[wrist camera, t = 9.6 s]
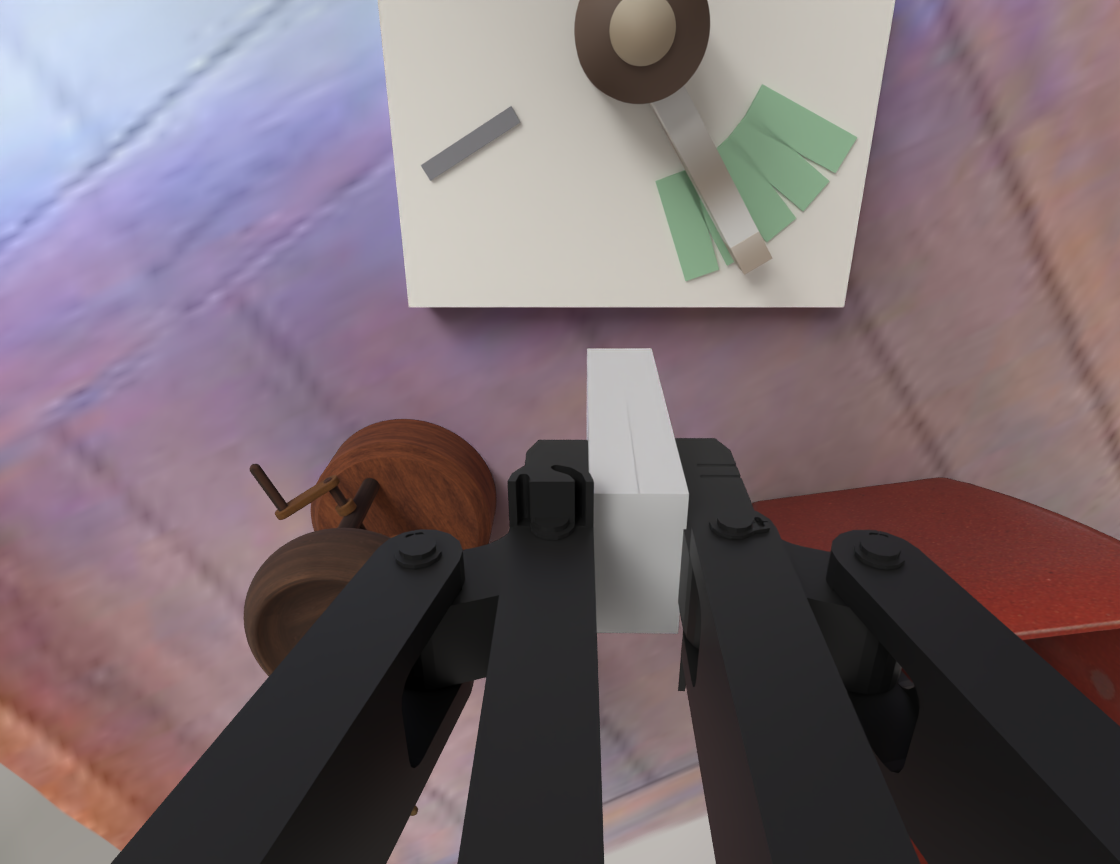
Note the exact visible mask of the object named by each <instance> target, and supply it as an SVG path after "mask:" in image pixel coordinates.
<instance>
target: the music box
mask: <svg viewBox="0 0 1120 864" xmlns="http://www.w3.org/2000/svg"><path fill="white" fill-rule="evenodd" d="M250 472H251V473H252V475H253V476H254V477H255V479H256V480H257V481H258V483H259V484H260V486H261V487H262V488H263V490H264V491H265V492H266V494H267V495H268V497H269V498H270V499H271V501H272V502H273V504H274V505H275V506H276V508H277V509H278V510H277V511H276V512H275V515H276V517H277V518H278V519H279V520H283V519H285V518H287V517H289V516H290V515H292V514H294V513H295V512H297V511H298V510H300V509H302V508H303V507H305V506H306V505H308V504H309V503H311V519H312V524H313V528H314V531H315V532H311V533H308V534H305V535H302V536H300V537H298V538H296V539H294V540H292V541H290V542H288V543H287V544H285V545H283V546H282V547H280V548H279V549H278V550H277V551H275V552H274V553H273V554H272V555H271V556H270V557H269V558H268V559H267V560H266V561H265V562H264V563H263V565H262V566H261V567H260V569H259V570H258V572H257V573H256V575H255V576H254V578H253V580H252V582H251V584H250V587H249V590H248V592H247V596H246V600H245V606H244V628H245V633H246V637H247V641H248V644H249V646H250V649H251V651H252V653H253V655H254V657H255V659H256V660H257V662H258V664H259V665H260V666H261V668H262V669H263V670H264V672H265V673H266V674H267V675H268V676H270V675H271V674H272V673H273V671H274V670H275V669H276V668H277V667H278V665H279V664H280V663H281V662H282V661H283V660H284V658H285V657H286V656H287V655H288V654H289V653H290V651H291V650H292V649H293V648H294V647H295V645H296V644H297V643H298V642H299V641H300V640H301V638H302V637H303V636H304V635H305V634H306V632H307V631H308V630H309V629H310V628H311V627H312V625H313V624H314V623H315V622H316V621H317V619H318V618H319V617H320V616H321V615H322V614H323V612H324V611H325V610H326V609H327V608H328V606H329V605H330V604H331V603H332V602H333V601H334V599H335V598H336V597H337V596H338V595H339V593H340V592H341V591H342V590H343V589H344V588H345V586H346V585H347V584H348V583H349V582H350V580H351V579H352V578H353V577H354V576H355V575H356V573H357V572H358V571H359V570H360V569H361V567H362V566H363V565H364V564H365V563H366V562H367V560H368V559H369V558H370V557H371V556H372V554H373V553H374V552H375V551H376V550H377V549H378V547H380V546H381V545H382V544H383V543H385V542H386V541H387V540H388V539H390V538H392V537H394V536H397V535H399V534H401V533H404V532H408V531H414V530H420V529H424V530H439V531H442V532H445V533H449V534H451V535H452V536H453V537H455V538H456V539H457V540H459V541H460V544H461V547H462V550H465V549H470V548H475V547H479V546H483V545H486V544H488V543H489V539H490V534H491V529H492V524H493V520H494V515H495V510H496V490H495V485H494V481H493V478H492V476H491V473H490V471H489V469H488V467H487V465H486V463H485V462H484V460H483V459H482V458H481V456H480V455H479V454H478V453H477V451H476V450H475V449H474V448H473V447H472V446H471V445H470V444H468V443H467V442H466V441H465V440H464V439H462V438H461V437H459V436H458V435H456V434H455V433H453V432H451V431H449V430H447V429H445V428H443V427H441V426H438V425H435V424H432V423H429V422H424V421H419V420H411V419H395V420H387V421H382V422H378V423H375V424H372V425H369V426H367V427H365V428H363V429H361V430H359V431H358V432H356V433H355V434H353V435H352V436H351V437H350V438H348V439H347V440H346V441H345V442H344V443H343V444H342V446H341V447H340V448H339V449H338V451H337V452H336V454H335V455H334V457H333V458H332V460H331V461H330V463H329V464H328V466H327V467H326V469H325V470H324V472H323V473H322V475H321V476H320V478H319V480H318V482H317V484H316V485H315V486H313V487H312V488H310V489H309V490H307V491H305V492H304V493H302V494H301V495H299V496H297V497H296V498H294V499H292V500H291V501H289V502H288V503H286V502H285V500H284V499H283V498H282V496H281V495H280V493H279V492H278V491H277V489H276V488H275V486H274V485H273V484H272V482H271V481H270V479H269V478H268V477H267V475H266V474H265V472H264V471H263V470H262V468H261V467H260V466H259V465H258V464H253V465H251V466H250ZM417 812H418V808H417V806H415V807H414V809H413V811H412V813H411V815H410V816H414V815H416V814H417Z"/></svg>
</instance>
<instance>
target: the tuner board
mask: <svg viewBox="0 0 1120 864" xmlns="http://www.w3.org/2000/svg"><path fill="white" fill-rule="evenodd" d="M579 1H580V0H378V8H379V18H380V27H381V37H382V47H383V57H384V67H385V77H386V86H387V96H388V106H389V116H390V126H391V136H392V145H393V155H394V165H395V175H396V185H397V195H398V204H399V214H400V224H401V234H402V244H403V254H404V263H405V273H406V283H407V293H408V303H409V307H844V304H845V298H846V292H847V286H848V280H849V274H850V268H851V262H852V256H853V250H854V244H855V238H856V232H857V226H858V220H859V214H860V208H861V202H862V196H863V190H864V184H865V179H866V173H867V167H868V161H869V155H870V149H871V143H872V137H873V131H874V125H875V119H876V113H877V107H878V101H879V95H880V89H881V83H882V77H883V71H884V65H885V59H886V53H887V47H888V41H889V35H890V29H891V23H892V17H893V11H894V5H895V0H707V1H708V5H709V12H710V34H709V40H708V45H707V48H706V51H705V54H704V57H703V59H702V61H701V63H700V65H699V67H698V68H697V70H696V72H695V73H694V75H693V76H692V77H691V78H690V80H689V81H688V82H687V83H686V84H685V85H684V86H685V88H686V90H687V92H688V94H689V96H690V98H691V100H692V101H693V103H694V105H695V107H696V109H697V111H698V113H699V115H700V117H701V119H702V121H703V123H704V125H705V127H706V129H707V131H708V133H709V135H710V137H711V139H712V141H713V143H714V145H715V147H716V149H717V150H718V152H719V154H720V156H721V158H722V160H723V162H724V164H725V166H726V168H727V170H728V172H729V174H730V176H731V178H732V180H733V182H734V184H735V186H736V188H737V190H738V192H739V194H740V196H741V198H742V199H743V201H744V203H745V205H746V207H747V209H748V211H749V213H750V215H751V217H752V219H753V221H754V223H755V225H756V227H757V229H758V231H759V233H760V235H761V236H762V238H763V240H764V242H765V244H766V246H767V248H768V250H769V252H770V254H771V256H772V259H771V260H769V261H767V262H766V263H764V264H762V265H760V266H759V267H757V268H755V269H754V270H752V271H750V272H748V273H747V274H745V275H744V274H743V272H742V271H741V270H740V269H739V268H738V266H737V265H736V264H735V263H734V261H733V259H732V257H731V255H730V253H729V251H728V249H727V248H726V246H725V244H724V242H723V240H722V238H721V236H720V234H719V232H718V231H717V229H716V227H715V225H714V223H713V221H712V219H711V217H710V216H709V214H708V212H707V210H706V208H705V206H704V204H703V202H702V201H701V199H700V197H699V195H698V193H697V191H696V189H695V187H694V186H693V184H692V182H691V180H690V178H689V176H688V174H687V172H686V171H685V169H684V167H683V165H682V163H681V161H680V159H679V157H678V156H677V154H676V152H675V150H674V148H673V146H672V144H671V142H670V141H669V139H668V137H667V135H666V133H665V131H664V129H663V127H662V126H661V124H660V122H659V120H658V118H657V116H656V114H655V112H654V111H653V109H652V107H651V105H650V103H647V104H631V103H625V102H622V101H618V100H616V99H614V98H612V97H610V96H608V95H606V94H604V93H603V92H601V91H600V90H599V89H597V88H596V87H595V86H594V85H593V84H592V83H591V81H590V80H589V79H588V78H587V76H586V74H585V73H584V71H583V69H582V67H581V65H580V62H579V59H578V55H577V50H576V45H575V36H574V24H575V16H576V11H577V7H578V3H579Z"/></svg>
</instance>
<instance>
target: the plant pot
mask: <svg viewBox="0 0 1120 864" xmlns="http://www.w3.org/2000/svg"><path fill="white" fill-rule="evenodd" d="M752 506H753V508H754V511H758V512H759V513H761V514H763V515H764V516H766V517H767V518H769V519H770V520H771V521H772V522H773V524H774V525H775V526H776V528H777V530H778V532H779V534H780V537H781V539H782V540H785V541H787V542H790V543H792V544H796V545H800V546H804V547H808V548H813V549H818V550H824V551H829V552H830V551H831V546H832V541H833V540H834V539H835V538H836V537H837V536H838V535H839V534H841V533H844V532H848V531H851V530H877V531H883V532H887V533H890V534H892V535H894V536H897V537H900V538H902V539H905V540H906V541H908V542H909V543H911V544H912V545H914V546H915V547H917V548H918V549H920V550H921V551H922V552H923V553H924V554H925V555H926V556H927V557H929V558H930V559H931V560H932V561H933V562H934V563H935V564H937V565H938V566H939V567H940V568H941V569H942V570H943V571H944V572H946V573H947V574H948V575H949V576H950V577H951V578H952V579H954V580H955V581H956V582H957V583H958V584H959V585H960V586H961V587H963V588H964V589H965V590H966V591H967V592H968V593H969V594H971V595H972V596H973V597H974V598H975V599H976V600H977V601H978V602H980V603H981V604H982V605H983V606H984V607H985V608H986V609H988V610H989V611H990V612H991V613H992V614H993V615H994V616H995V617H997V618H998V619H999V620H1000V621H1001V622H1002V623H1003V624H1005V625H1006V626H1007V627H1008V628H1009V629H1010V630H1011V631H1012V632H1014V633H1015V634H1016V635H1017V636H1018V637H1019V638H1020V639H1022V640H1023V641H1024V642H1025V643H1026V644H1027V645H1028V646H1029V647H1031V648H1032V649H1033V650H1034V651H1035V652H1036V653H1037V654H1039V655H1040V656H1041V657H1042V658H1043V659H1044V660H1045V661H1046V662H1048V663H1049V664H1050V665H1051V666H1052V667H1053V668H1054V669H1056V670H1057V671H1058V672H1059V673H1060V674H1061V675H1062V676H1063V677H1065V678H1066V679H1067V680H1068V681H1069V682H1070V683H1071V684H1073V685H1074V686H1075V687H1076V688H1077V689H1078V690H1079V691H1080V692H1082V693H1083V694H1084V695H1085V696H1086V697H1087V698H1088V699H1090V700H1091V701H1092V702H1093V703H1094V704H1095V705H1096V706H1097V707H1099V708H1100V709H1101V710H1102V711H1103V712H1104V713H1105V714H1107V715H1108V716H1109V717H1110V718H1111V719H1112V720H1113V721H1114V722H1116V723H1117V724H1118V725H1119V726H1120V541H1119V540H1117V539H1115V538H1113V537H1111V536H1108V535H1106V534H1104V533H1102V532H1100V531H1097V530H1095V529H1093V528H1091V527H1089V526H1086V525H1084V524H1082V523H1079V522H1077V521H1074V520H1072V519H1070V518H1067V517H1065V516H1063V515H1060V514H1058V513H1055V512H1052V511H1050V510H1047V509H1044V508H1042V507H1039V506H1036V505H1034V504H1031V503H1028V502H1026V501H1023V500H1020V499H1017V498H1014V497H1011V496H1008V495H1005V494H1002V493H998V492H995V491H992V490H989V489H985V488H982V487H979V486H976V485H973V484H969V483H965V482H960V481H956V480H953V479H948V478H931V479H923V480H916V481H910V482H902V483H894V484H886V485H878V486H871V487H863V488H855V489H848V490H840V491H833V492H825V493H817V494H810V495H802V496H794V497H787V498H779V499H772V500H764V501H758V502H754V503H752ZM901 671H902V672H903V673H904V674H905V675H906V676H907V678H908V679H909V680H910V681H911V682H913V681H912V680H911V678H910V677H909V675H908V674H907V673H906V671H905V670H904V669H903V668H902V669H901ZM910 840H911V838H910ZM911 842H912V844H913V847H914V849H915V851H916V854H917V856H918V858H919V861H920V863H921V864H928V863H927V861H926V860H925V858H924V857H923V856H922V854H921V853H920V851H919V850H918V848H917V847H916V845H915V844H914V843H913V841H912V840H911Z"/></svg>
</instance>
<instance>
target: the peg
mask: <svg viewBox="0 0 1120 864" xmlns="http://www.w3.org/2000/svg"><path fill="white" fill-rule="evenodd" d="M709 34H710V12H709V5H708V1H707V0H580V1H579V3H578V7H577V11H576V16H575V24H574V36H575V45H576V50H577V55H578V59H579V62H580V65H581V67H582V69H583V71H584V73H585V74H586V76H587V78H588V79H589V80H590V81H591V83H592V84H593V85H594V86H595V87H596V88H597V89H599V90H600V91H601V92H603V93H604V94H606V95H608V96H610V97H612V98H614V99H616V100H618V101H622V102H625V103H631V104H647V103H650V105H651V107H652V109H653V111H654V112H655V114H656V116H657V118H658V120H659V122H660V124H661V126H662V127H663V129H664V131H665V133H666V135H667V137H668V139H669V141H670V142H671V144H672V146H673V148H674V150H675V152H676V154H677V156H678V157H679V159H680V161H681V163H682V165H683V167H684V169H685V171H686V172H687V174H688V176H689V178H690V180H691V182H692V184H693V186H694V187H695V189H696V191H697V193H698V195H699V197H700V199H701V201H702V202H703V204H704V206H705V208H706V210H707V212H708V214H709V216H710V217H711V219H712V221H713V223H714V225H715V227H716V229H717V231H718V232H719V234H720V236H721V238H722V240H723V242H724V244H725V246H726V248H727V249H728V251H729V253H730V255H731V257H732V259H733V261H734V263H735V264H736V265H737V266H738V268H739V269H740V270H741V271H742V272H743V274H744V275H745V274H747V273H748V272H750V271H752V270H754V269H755V268H757V267H759V266H760V265H762V264H764V263H766V262H767V261H769V260H771V259H772V256H771V254H770V252H769V250H768V248H767V246H766V244H765V242H764V240H763V238H762V236H761V235H760V233H759V231H758V229H757V227H756V225H755V223H754V221H753V219H752V217H751V215H750V213H749V211H748V209H747V207H746V205H745V203H744V201H743V199H742V198H741V196H740V194H739V192H738V190H737V188H736V186H735V184H734V182H733V180H732V178H731V176H730V174H729V172H728V170H727V168H726V166H725V164H724V162H723V160H722V158H721V156H720V154H719V152H718V150H717V149H716V147H715V145H714V143H713V141H712V139H711V137H710V135H709V133H708V131H707V129H706V127H705V125H704V123H703V121H702V119H701V117H700V115H699V113H698V111H697V109H696V107H695V105H694V103H693V101H692V100H691V98H690V96H689V94H688V92H687V90H686V88H685V86H684V85H685V84H686V83H687V82H688V81H689V80H690V78H691V77H692V76H693V75H694V73H695V72H696V70H697V68H698V67H699V65H700V63H701V61H702V59H703V57H704V54H705V51H706V48H707V45H708V40H709Z"/></svg>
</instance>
